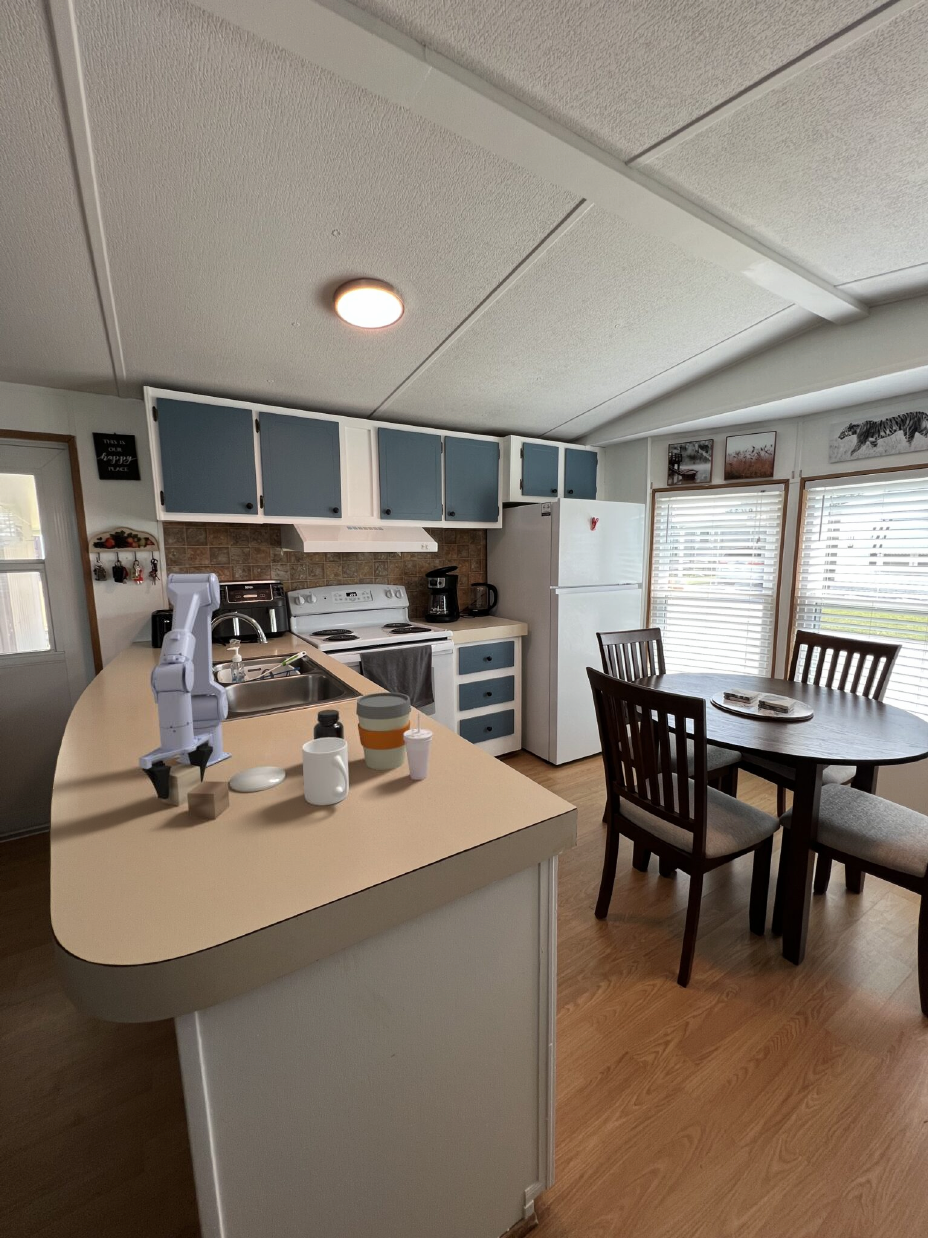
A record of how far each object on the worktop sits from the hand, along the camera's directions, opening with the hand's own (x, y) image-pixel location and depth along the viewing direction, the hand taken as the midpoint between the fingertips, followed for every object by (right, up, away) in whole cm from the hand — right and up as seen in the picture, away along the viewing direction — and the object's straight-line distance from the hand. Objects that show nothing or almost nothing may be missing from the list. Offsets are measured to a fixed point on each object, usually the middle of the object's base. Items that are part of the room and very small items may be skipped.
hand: (181, 789), depth 102 cm
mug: (+30, -2, -1) cm, 30 cm away
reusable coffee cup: (+38, 0, +18) cm, 42 cm away
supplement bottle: (+25, 0, +18) cm, 31 cm away
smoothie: (+46, -1, +10) cm, 48 cm away
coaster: (+12, -1, +8) cm, 15 cm away
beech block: (0, -2, 0) cm, 2 cm away
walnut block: (+8, -3, -5) cm, 10 cm away
